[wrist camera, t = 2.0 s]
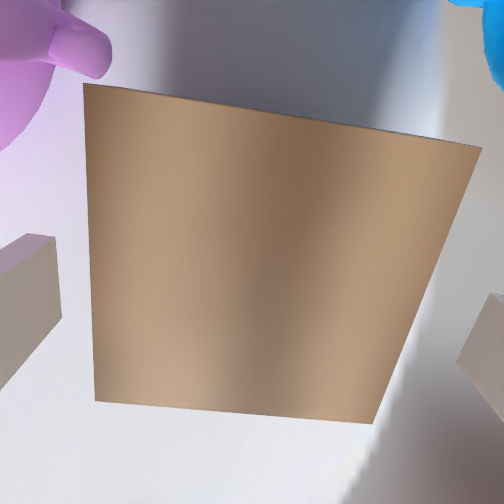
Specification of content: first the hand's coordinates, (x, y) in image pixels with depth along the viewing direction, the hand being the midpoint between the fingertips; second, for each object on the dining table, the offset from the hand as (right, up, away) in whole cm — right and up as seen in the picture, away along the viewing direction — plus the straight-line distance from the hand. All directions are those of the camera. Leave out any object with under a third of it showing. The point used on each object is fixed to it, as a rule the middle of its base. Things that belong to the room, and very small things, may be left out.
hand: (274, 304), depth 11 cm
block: (0, +1, +4) cm, 4 cm away
